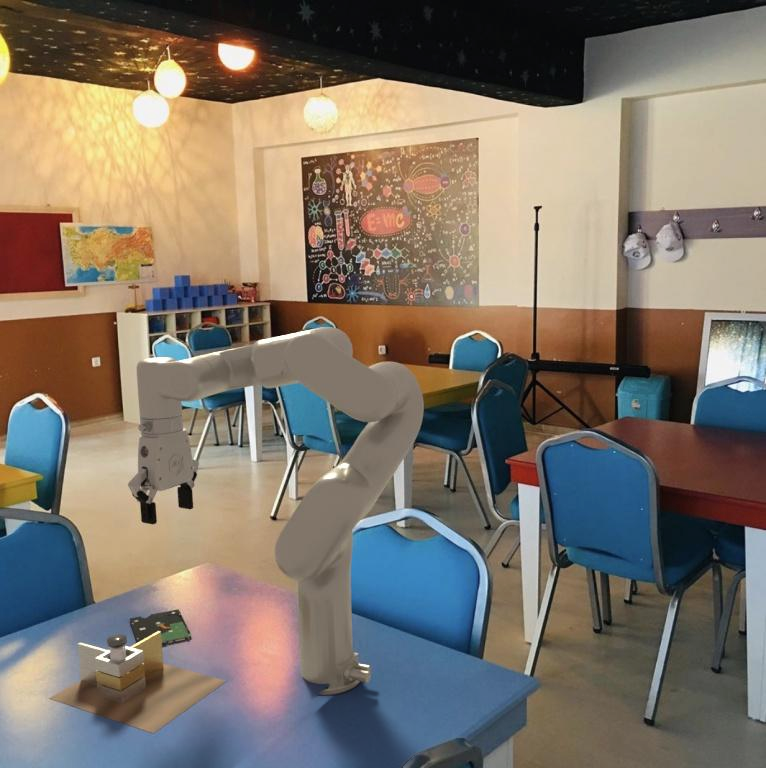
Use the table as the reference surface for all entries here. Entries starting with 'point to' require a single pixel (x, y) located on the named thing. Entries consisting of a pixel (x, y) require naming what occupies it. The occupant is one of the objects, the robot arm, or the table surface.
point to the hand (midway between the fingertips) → (168, 515)
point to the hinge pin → (117, 647)
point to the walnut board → (145, 698)
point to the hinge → (121, 668)
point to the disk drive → (161, 627)
